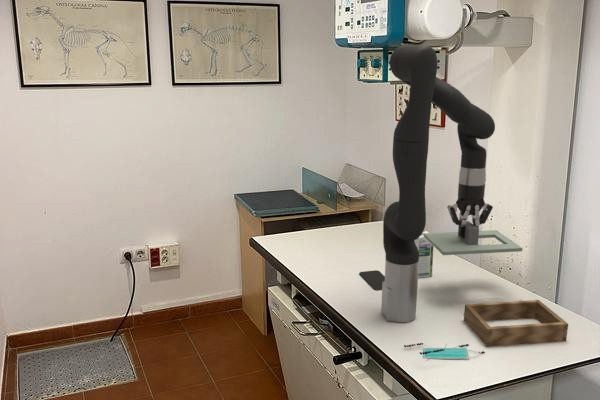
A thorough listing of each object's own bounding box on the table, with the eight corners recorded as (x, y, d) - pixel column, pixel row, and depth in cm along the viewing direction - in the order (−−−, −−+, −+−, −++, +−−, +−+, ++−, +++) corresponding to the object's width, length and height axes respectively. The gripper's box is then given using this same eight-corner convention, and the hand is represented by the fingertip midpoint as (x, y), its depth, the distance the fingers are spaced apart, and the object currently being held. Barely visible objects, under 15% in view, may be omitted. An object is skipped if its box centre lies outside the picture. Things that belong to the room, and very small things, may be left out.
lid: (443, 255, 171) (444, 235, 169) (423, 236, 187) (424, 218, 185) (522, 251, 174) (524, 231, 172) (496, 233, 190) (497, 215, 188)
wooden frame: (486, 346, 153) (488, 329, 152) (463, 320, 168) (464, 304, 166) (566, 341, 156) (568, 323, 155) (536, 315, 171) (538, 299, 169)
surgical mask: (417, 355, 142) (398, 335, 151) (416, 371, 143) (397, 351, 152) (491, 342, 148) (469, 324, 157) (490, 358, 149) (468, 339, 158)
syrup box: (416, 278, 197) (418, 237, 194) (409, 272, 203) (411, 231, 199) (432, 276, 199) (434, 235, 195) (424, 270, 204) (426, 230, 201)
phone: (374, 289, 188) (358, 272, 202) (374, 292, 188) (357, 274, 202) (396, 287, 190) (378, 269, 204) (396, 289, 190) (378, 272, 204)
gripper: (489, 178, 179) (484, 232, 184) (444, 179, 178) (441, 234, 182) (500, 183, 172) (495, 240, 177) (453, 185, 170) (450, 242, 175)
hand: (467, 237), depth 179 cm, fingers closed on lid, 3 cm apart
